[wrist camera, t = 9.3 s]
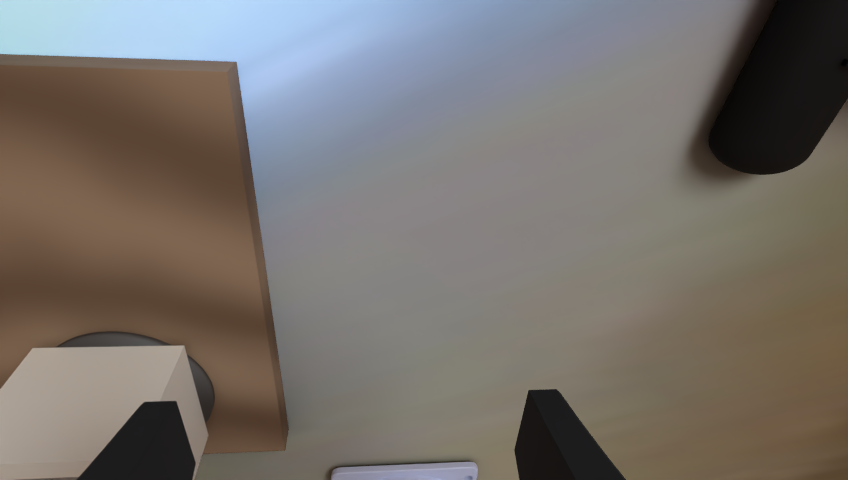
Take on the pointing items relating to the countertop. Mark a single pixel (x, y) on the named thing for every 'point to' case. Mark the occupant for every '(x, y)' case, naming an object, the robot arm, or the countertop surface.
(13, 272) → the post board
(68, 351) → the collar
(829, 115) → the door handle
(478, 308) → the countertop surface
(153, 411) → the robot arm
